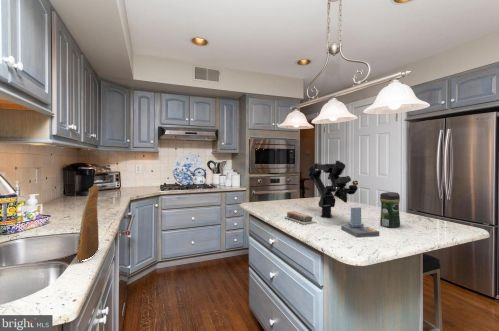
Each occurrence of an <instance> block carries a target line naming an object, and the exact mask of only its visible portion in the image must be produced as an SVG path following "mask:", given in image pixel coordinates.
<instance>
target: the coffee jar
mask: <svg viewBox="0 0 499 331" xmlns="http://www.w3.org/2000/svg"><path fill="white" fill-rule="evenodd" d="M379 196H380V198H379V200H380V207H381V208H380V221H379V222H380V223H379V224H380V225H381V226H382V227H384V228H391V229H392V228H398V227H400V226H401V218H400V217H401V216H400V201H401V197H400V193H399V192H394V191H388V192H387V191H386V192H381V193H380V195H379Z"/></svg>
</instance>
